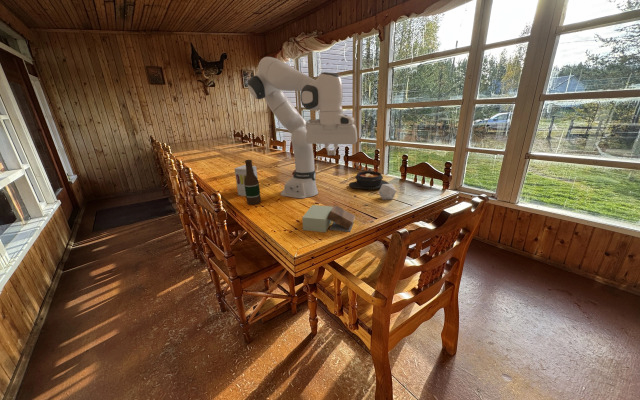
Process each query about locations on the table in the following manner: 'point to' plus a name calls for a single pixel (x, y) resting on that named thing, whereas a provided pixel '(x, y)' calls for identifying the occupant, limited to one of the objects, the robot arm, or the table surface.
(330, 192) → the table surface
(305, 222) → the step
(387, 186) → the die
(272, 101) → the robot arm
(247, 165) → the beer bottle
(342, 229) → the mat
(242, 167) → the supplement box
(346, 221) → the walnut block
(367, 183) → the casserole
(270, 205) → the table surface
